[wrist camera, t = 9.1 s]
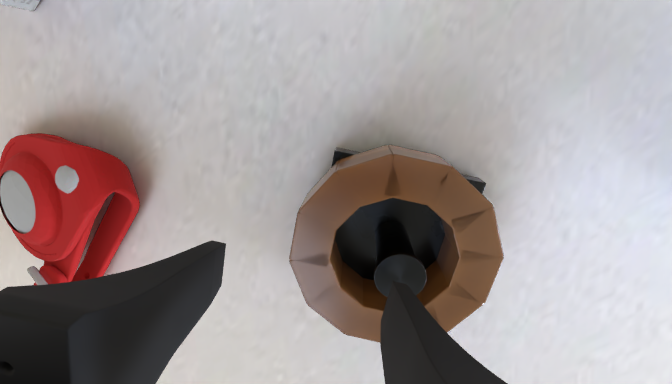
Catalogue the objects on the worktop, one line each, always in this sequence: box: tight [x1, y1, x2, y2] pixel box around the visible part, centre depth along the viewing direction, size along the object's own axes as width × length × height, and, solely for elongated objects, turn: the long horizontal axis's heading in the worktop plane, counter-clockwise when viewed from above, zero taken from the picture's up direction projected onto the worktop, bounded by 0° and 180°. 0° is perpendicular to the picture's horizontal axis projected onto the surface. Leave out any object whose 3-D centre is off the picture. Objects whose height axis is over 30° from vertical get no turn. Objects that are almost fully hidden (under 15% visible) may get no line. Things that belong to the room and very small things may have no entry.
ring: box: [289, 145, 504, 342], centre depth 19 cm, size 11×11×3 cm
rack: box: [331, 148, 486, 297], centre depth 18 cm, size 9×9×6 cm
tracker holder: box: [0, 134, 140, 285], centre depth 21 cm, size 12×4×10 cm
